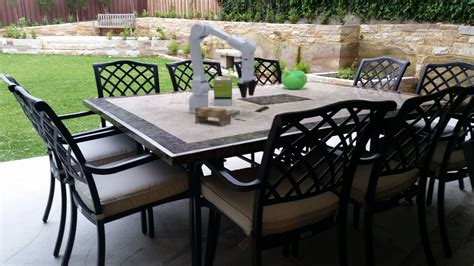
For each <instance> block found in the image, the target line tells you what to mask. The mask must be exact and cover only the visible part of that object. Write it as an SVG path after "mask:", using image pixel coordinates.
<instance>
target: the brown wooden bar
mask: <svg viewBox="0 0 474 266" xmlns="http://www.w3.org/2000/svg"><path fill="white" fill-rule="evenodd" d="M240 111H241V110H239V109H231V110H228V111H226V113H231V117H232V118H235V117H237V116H240V114H241V112H240ZM236 115H237V116H236Z"/></svg>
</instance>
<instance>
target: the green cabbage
mask: <svg viewBox="0 0 474 266" xmlns="http://www.w3.org/2000/svg"><path fill="white" fill-rule="evenodd" d="M282 72H283V73H282V75H281V76H280V77H281V78H280V79H281V84H282V85H283V86H284V87H285V88H287V89H290V90H298V89H302V88H303V87H304V86H306V84H307V83H308V76H307V74H306V73H305V72H304V71H302V70H300V69H298V68H297V67H294V68H292V69H288V70H282Z"/></svg>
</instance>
